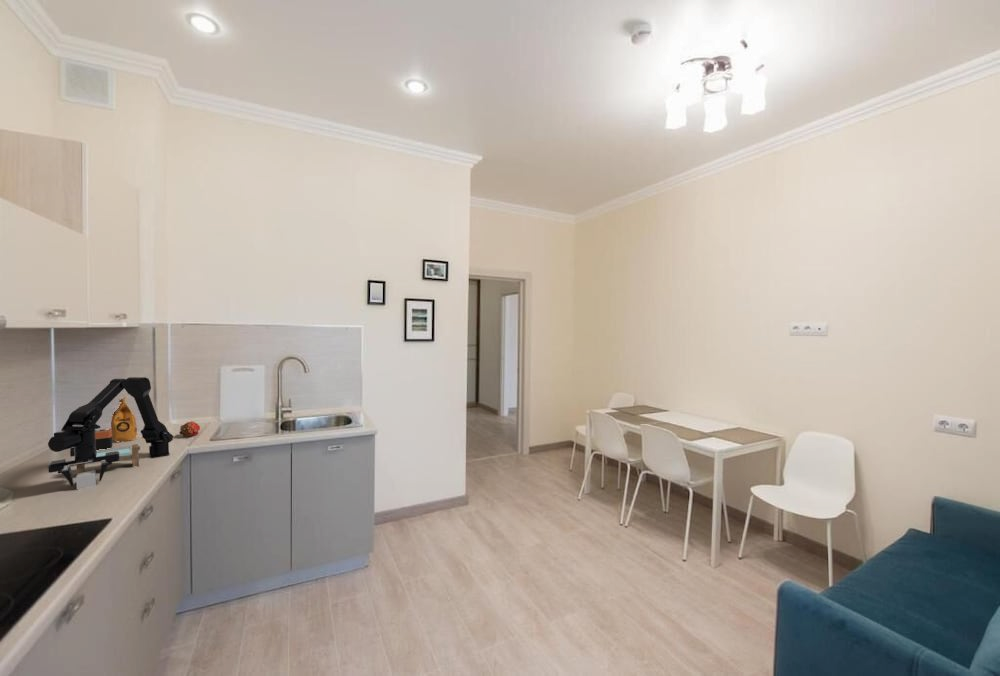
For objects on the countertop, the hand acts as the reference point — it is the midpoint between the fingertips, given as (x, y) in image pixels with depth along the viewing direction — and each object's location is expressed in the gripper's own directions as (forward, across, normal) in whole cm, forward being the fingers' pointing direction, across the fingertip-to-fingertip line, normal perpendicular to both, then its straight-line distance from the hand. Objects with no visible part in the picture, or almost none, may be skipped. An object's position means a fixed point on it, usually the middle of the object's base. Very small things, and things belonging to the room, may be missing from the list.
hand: (86, 483), depth 156 cm
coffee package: (+1, -11, -68) cm, 69 cm away
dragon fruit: (+1, -37, -54) cm, 65 cm away
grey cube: (+1, 0, 0) cm, 1 cm away
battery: (+1, -3, -54) cm, 54 cm away
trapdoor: (-3, -6, -17) cm, 18 cm away
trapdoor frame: (+1, -6, -16) cm, 18 cm away
